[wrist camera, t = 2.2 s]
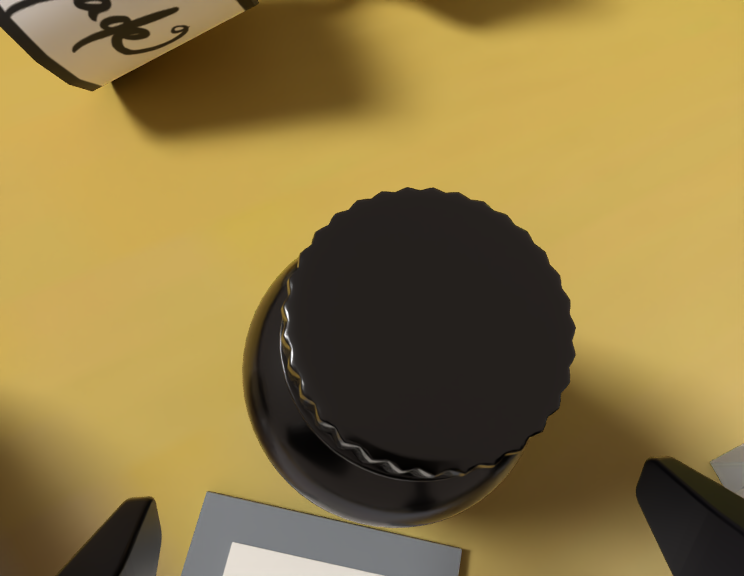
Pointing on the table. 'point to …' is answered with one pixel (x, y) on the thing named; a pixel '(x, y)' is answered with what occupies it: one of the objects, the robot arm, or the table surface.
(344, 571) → the grey mat
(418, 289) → the supplement bottle
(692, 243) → the table surface
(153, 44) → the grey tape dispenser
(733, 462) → the circuit breaker
